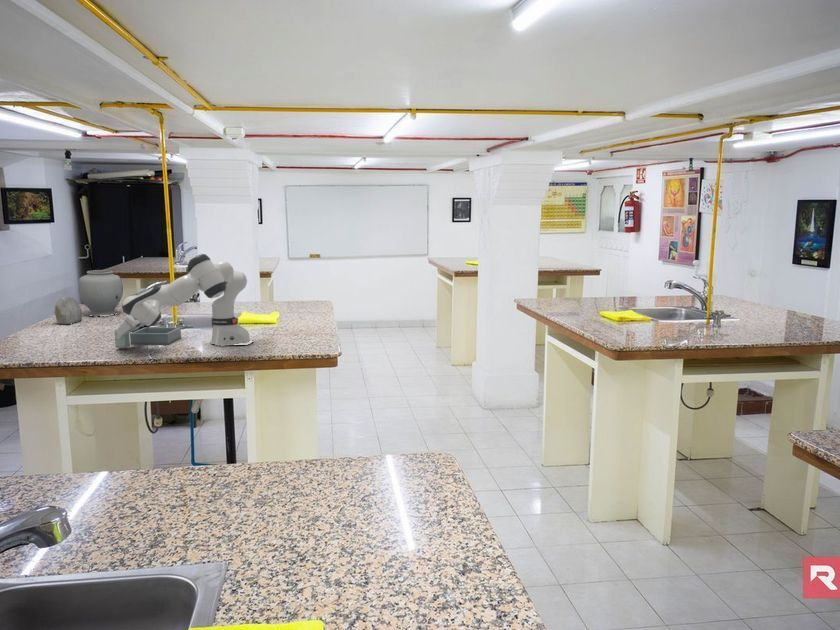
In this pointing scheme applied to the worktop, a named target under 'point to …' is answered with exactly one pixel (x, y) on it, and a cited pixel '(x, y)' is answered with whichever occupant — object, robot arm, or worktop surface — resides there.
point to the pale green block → (122, 341)
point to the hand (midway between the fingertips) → (120, 336)
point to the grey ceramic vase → (100, 291)
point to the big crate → (155, 336)
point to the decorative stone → (67, 311)
